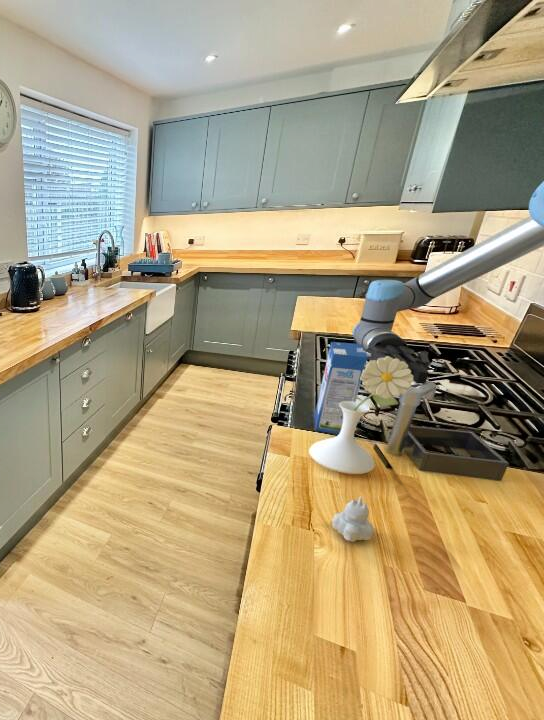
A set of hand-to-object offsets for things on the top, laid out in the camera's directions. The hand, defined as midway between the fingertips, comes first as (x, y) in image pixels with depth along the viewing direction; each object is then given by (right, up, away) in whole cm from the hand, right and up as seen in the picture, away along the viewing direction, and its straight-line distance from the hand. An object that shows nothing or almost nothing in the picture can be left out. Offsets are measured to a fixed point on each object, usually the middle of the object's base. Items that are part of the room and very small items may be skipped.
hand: (422, 378), depth 92 cm
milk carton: (-11, -12, +13) cm, 21 cm away
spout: (-6, -5, -5) cm, 10 cm away
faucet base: (-9, -18, -2) cm, 20 cm away
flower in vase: (-20, -19, -3) cm, 28 cm away
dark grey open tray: (-1, -18, -5) cm, 19 cm away
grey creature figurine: (-33, -27, -22) cm, 48 cm away
